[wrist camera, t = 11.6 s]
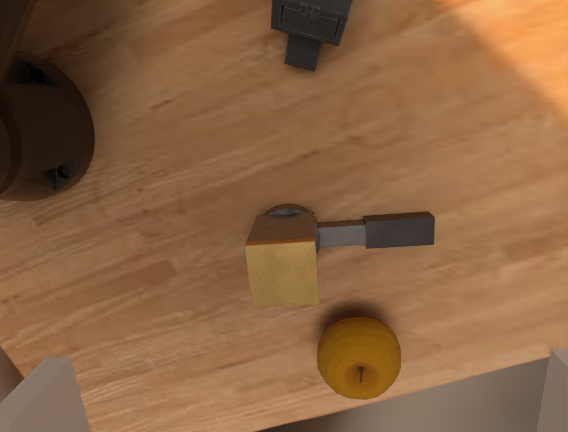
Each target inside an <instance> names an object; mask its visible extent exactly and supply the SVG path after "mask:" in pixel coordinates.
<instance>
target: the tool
mask: <svg viewBox="0 0 568 432" xmlns="http://www.w3.org/2000/svg"><path fill="white" fill-rule="evenodd" d="M352 3H353V0H272V16H271V29H275V30H279V31H283V32H287V33H289V36H288V43H287V49H286V56H285V64H289V65H292V66H296V67H300V68H304V69H308V70H311V71H315V69H316V65H317V61H318V58H319V54H320V50H321V46H322V43H323V42H325V43H328V44H332V45H336V46H339V43H340V40H341V37H342V34H343V31H344V29H345V26H346V23H347V20H348V17H349V13H350V10H351V6H352Z"/></svg>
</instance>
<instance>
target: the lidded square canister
mask: <svg viewBox="0 0 568 432" xmlns="http://www.w3.org/2000/svg"><path fill="white" fill-rule="evenodd" d="M245 253H246V260H247V268H248V275H249V283H250V291H251V298H252V306H253V308H256V307H276V306H296V305H316V304H319V286H318V268H317V253H316V239H315V225H314V212H308V213H293V214H279V215H264V216H256V219H255V221H254V224H253V226H252V229H251V231H250V234H249V236H248V239H247V241H246V244H245Z"/></svg>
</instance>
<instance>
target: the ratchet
mask: <svg viewBox="0 0 568 432" xmlns="http://www.w3.org/2000/svg"><path fill="white" fill-rule="evenodd" d="M308 212H309V211H308V210H307V209H305V208H303V207H301V206H298V205H295V204H282V205H278V206H275V207H273V208H271V209H270V210H269V211H267V212H266V213H265V214H264V215H279V214H293V213H308ZM314 225H315V239H316V253H318V251H319V248H320V247H333V246H349V245H365V246H366V249H369V248H386V247H402V246H419V245H434V225H435V217H434V216H433V215H432V214H431V213H430V212H417V213H402V214H387V215H372V216H363V220H359V221H344V222H329V223H318V222H317V220H316V219H315V217H314Z"/></svg>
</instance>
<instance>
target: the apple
mask: <svg viewBox="0 0 568 432" xmlns="http://www.w3.org/2000/svg"><path fill="white" fill-rule="evenodd" d="M317 362H318V369H319V372H320V374H321V376H322V377H323V379H324V380H325V381H326V383H327V384H328V385H329V386H330V387H331V388H332V389H333V390H334V391H335V392H336V393H337V394H340V395H342V396H345V397H347V398H350V399H363V400H367V399H371V398H375V397H377V396H379V395H380V394H382V393H384V392H385V391H386V390H387V389H388V388H389V387H390V386H391V385H392V384H393V382H394V381H395V379H396V378H397V376H398V375H399V372H400V369H401V350H400V345H399V342H398V340H397V337H396V335H395V334H394V333H393V331H392V330H391V329H390V328H389V327H388V326H387V325H386V324H384V323H383V322H381V321H378V320H375V319H372V318H370V317H353V318H346V319H342V320H339V321H337V322H335V323H334V324H333V325H331V326H330V327H329V328H328V329H327V330H326V331H325V333H324V334H323V336H322V337H321V339H320V341H319V344H318V352H317Z"/></svg>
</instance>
